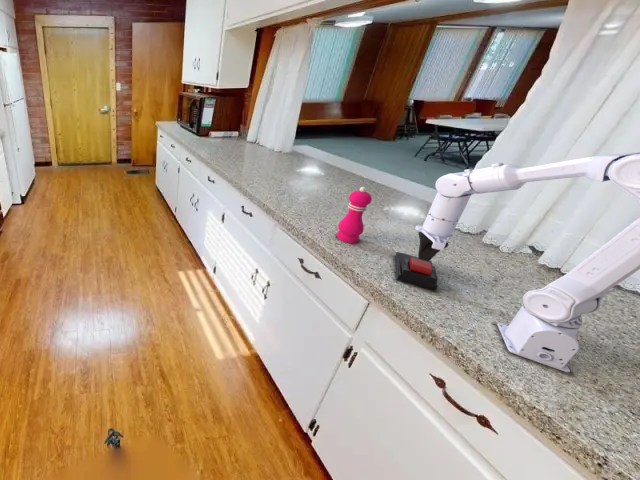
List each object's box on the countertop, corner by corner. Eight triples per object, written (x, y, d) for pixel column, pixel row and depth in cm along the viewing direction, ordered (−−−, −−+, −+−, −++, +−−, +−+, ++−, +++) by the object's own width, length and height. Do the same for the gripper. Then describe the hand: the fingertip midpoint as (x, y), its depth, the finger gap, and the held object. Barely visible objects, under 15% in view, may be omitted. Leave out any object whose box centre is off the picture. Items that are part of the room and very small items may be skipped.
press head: (429, 275, 81) (432, 269, 80) (409, 270, 83) (412, 264, 82) (427, 268, 84) (430, 262, 83) (408, 263, 86) (411, 257, 85)
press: (434, 291, 80) (440, 280, 78) (396, 280, 85) (401, 268, 83) (428, 266, 90) (434, 255, 88) (394, 256, 95) (399, 246, 93)
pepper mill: (333, 238, 105) (348, 187, 97) (337, 231, 110) (352, 181, 102) (357, 246, 100) (376, 193, 92) (361, 237, 105) (378, 186, 97)
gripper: (419, 202, 84) (403, 242, 89) (425, 223, 74) (406, 266, 79) (454, 209, 80) (435, 250, 85) (465, 231, 70) (442, 277, 75)
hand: (423, 259), depth 82 cm, fingers closed
